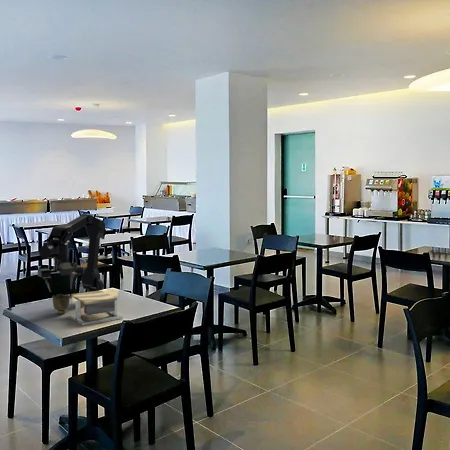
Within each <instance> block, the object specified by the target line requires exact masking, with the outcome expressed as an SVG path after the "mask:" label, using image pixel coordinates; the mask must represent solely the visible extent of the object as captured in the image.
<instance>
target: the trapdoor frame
mask: <svg viewBox="0 0 450 450" xmlns="http://www.w3.org/2000/svg"><path fill="white" fill-rule="evenodd" d="M113 296H114V297H116V298H117V300H115V311H112V312H106V313H107V314H109V315H111V317H106V318H104V317H103V318H99V319H92V320H87V321H85V320H83V319H82V314H81V313H82V302H81V301H78V300H75V307H74V308H75V311H74V312H75V314H74V315H71V316H70V318H71V319H72V320H74V321H75V322H77V323H79V324H80V325H81V326H88V325H94V324H98V323H99V324H100V323H105V322H111V320H112V321H117V320H116V319H118V320H122V319H124V316H122V315H121V314H119V313H118V295H113Z"/></svg>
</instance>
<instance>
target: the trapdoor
mask: <svg viewBox="0 0 450 450" xmlns="http://www.w3.org/2000/svg"><path fill="white" fill-rule="evenodd" d="M114 296H115V295H111V294H109V293H108V292H105V291H104V290H100V291H93V292H77V293H71V294H70V298H73V299H74V300H75V301H81V304H83V313H84V314H85V315H87V316H91V315H98V314H104V313H107V312H112V311H115V300H117V301H118V297H117V298H116V297H114Z"/></svg>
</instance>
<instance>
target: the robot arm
mask: <svg viewBox="0 0 450 450" xmlns="http://www.w3.org/2000/svg"><path fill="white" fill-rule="evenodd" d="M83 227H85V229H86V234H87V236H88V240H89V241H88V249H87V250H88V251H87V260H86V261H87V262H86V268H85V269H84V266H81V265H78V263H77V262H70V259H69V252H68V251H69V245H71V244H72V242H71V241H70V239H71V237H72V236H73V233H74V232H76V231H78V230H79V229H81V228H83ZM105 229H106V223H105V222H104V220H102V219H100V218H97V217H95V216H94V215H92V214H89V213H82V214H80V215H79V216H77V217H75V219H72V220H70V221H69V222H67V223H65V224H58V225H56V226H53V227H52V229H51V231H50V234H49V235H48V238H47V239H46V241H45V242H44V241H43V242H42V245H41V247H39V250H38V251H39V252H38V253H39V256H40V257H41V259H43V260H46V259H51V258H52V259H53V264H54V265H53V266H52V267H53V269H49V268H39V269H37V277H39V278H42V279H43V280H44V282H45V284H46V285H47V288H48V290H49V293H52V290H53V287H52V277H51V276H52V275H57V274H60V275H61V276H67V275H69V283H70V285H69V286H70V290H73V289H74V286H75V283H76V281H77V279H78V278H79V276H80V281H81V284H82V288H83V290H84V289H85V290H87V292H93V291H103V289H104V288H105V283H104V282H103V281H102V279H101V273H100V270H99V269H98V266H99V254H100V244H101V243H100V242H101V238H102V236H103V235H104V233H105Z"/></svg>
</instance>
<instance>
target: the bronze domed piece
mask: <svg viewBox="0 0 450 450" xmlns="http://www.w3.org/2000/svg"><path fill="white" fill-rule="evenodd" d="M51 297H52V298H51V299H52V306H53V307H54V310H56V314H58V315H64V314H66V310H68V308H69V306H70V301H71V295H70V294H69V293H64V294H62V293H60V294H58V293H57V294H56V295H54V294H53V295H52V296H51Z"/></svg>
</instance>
